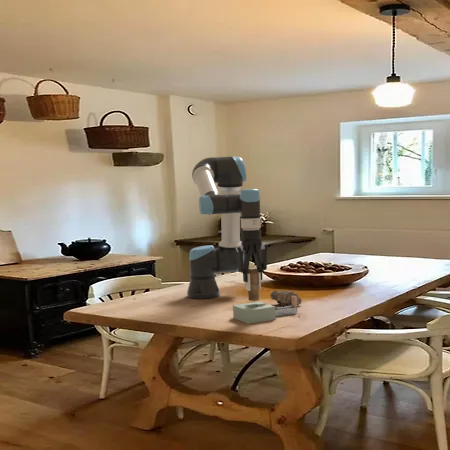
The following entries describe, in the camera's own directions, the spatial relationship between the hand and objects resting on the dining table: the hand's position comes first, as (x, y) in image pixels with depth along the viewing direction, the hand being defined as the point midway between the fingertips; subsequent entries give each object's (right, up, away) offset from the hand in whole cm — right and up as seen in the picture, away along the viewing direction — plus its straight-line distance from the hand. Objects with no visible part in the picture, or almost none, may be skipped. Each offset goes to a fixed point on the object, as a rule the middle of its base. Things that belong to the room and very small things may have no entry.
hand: (253, 289), depth 237 cm
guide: (+11, -11, +6) cm, 17 cm away
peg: (0, -4, 0) cm, 4 cm away
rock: (+15, -9, +24) cm, 30 cm away
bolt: (+14, -10, +8) cm, 19 cm away
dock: (0, -11, +1) cm, 12 cm away
